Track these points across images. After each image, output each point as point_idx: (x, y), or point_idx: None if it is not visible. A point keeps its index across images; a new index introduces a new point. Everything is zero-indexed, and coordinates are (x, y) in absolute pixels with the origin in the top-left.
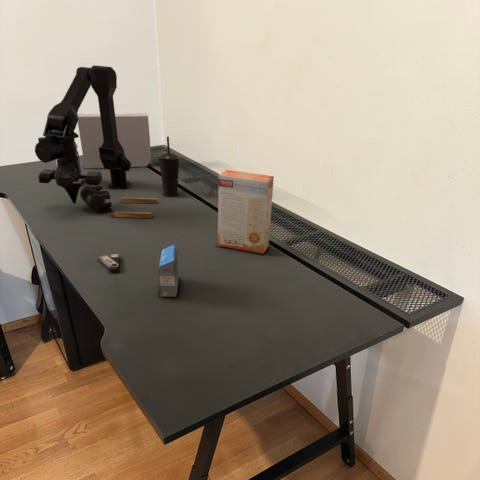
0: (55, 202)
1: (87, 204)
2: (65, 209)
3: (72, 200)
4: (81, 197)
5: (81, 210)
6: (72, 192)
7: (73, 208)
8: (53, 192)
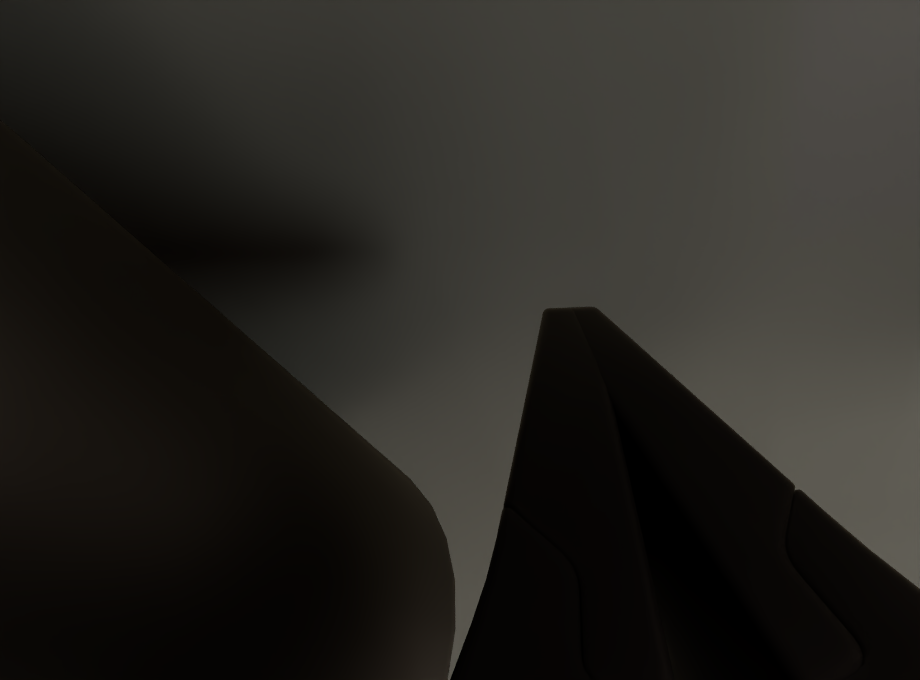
0: (916, 429)
1: (14, 146)
2: (761, 164)
3: (624, 351)
4: (408, 509)
5: (363, 143)
6: (660, 600)
7: (584, 236)
8: None
